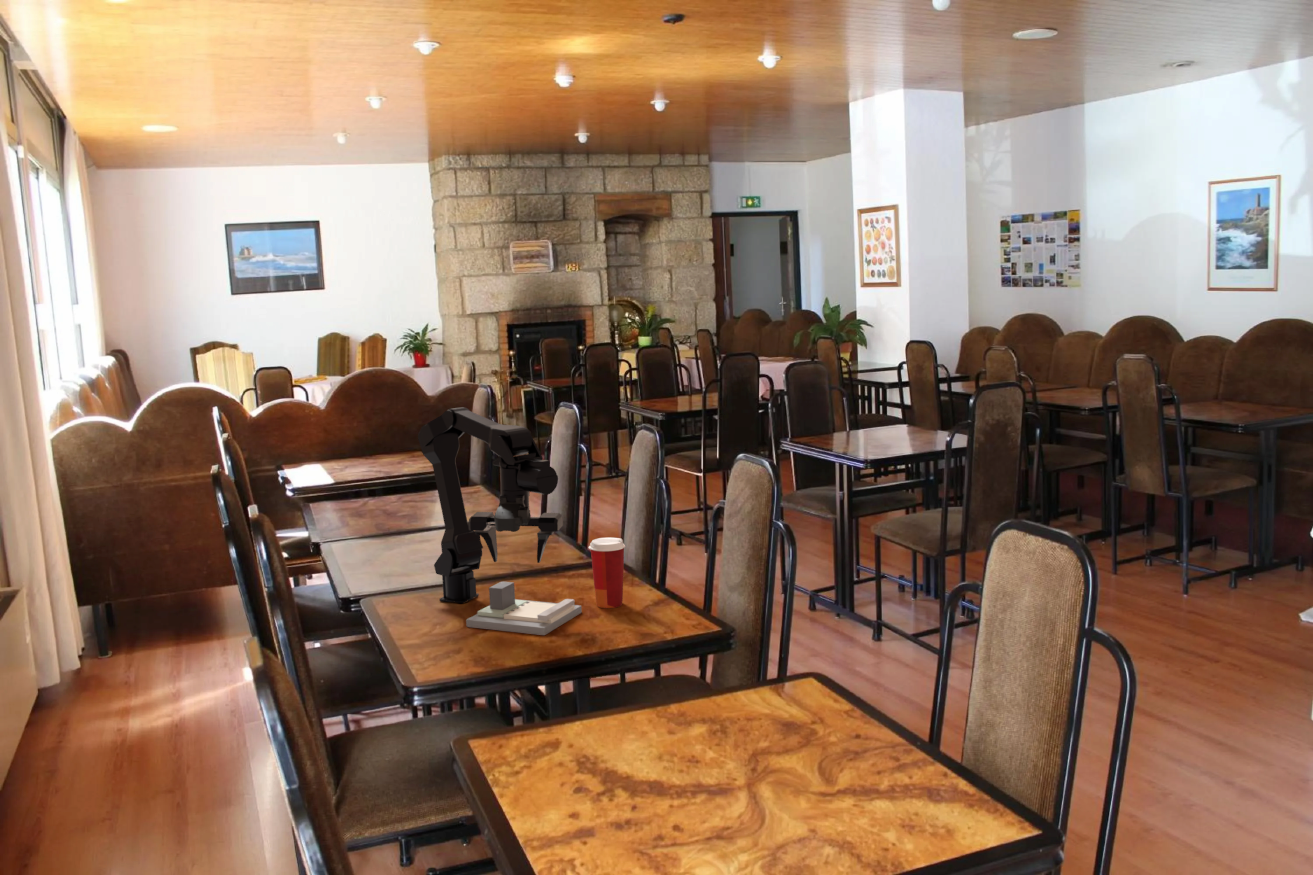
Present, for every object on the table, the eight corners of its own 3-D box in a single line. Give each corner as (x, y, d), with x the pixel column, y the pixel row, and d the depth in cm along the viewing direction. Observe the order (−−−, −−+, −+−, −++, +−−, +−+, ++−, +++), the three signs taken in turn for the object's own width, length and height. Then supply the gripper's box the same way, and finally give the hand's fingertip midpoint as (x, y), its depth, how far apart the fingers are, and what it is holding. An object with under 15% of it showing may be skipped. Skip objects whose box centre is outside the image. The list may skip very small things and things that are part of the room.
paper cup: (629, 599, 241) (627, 536, 239) (624, 609, 233) (622, 544, 231) (593, 599, 242) (591, 536, 240) (588, 609, 234) (585, 545, 232)
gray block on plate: (477, 615, 227) (476, 590, 226) (503, 601, 236) (501, 577, 235) (502, 617, 225) (501, 592, 224) (527, 604, 234) (526, 579, 233)
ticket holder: (466, 626, 225) (465, 610, 224) (507, 605, 239) (506, 590, 239) (544, 635, 218) (543, 618, 217) (581, 612, 232) (581, 597, 232)
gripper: (459, 495, 221) (462, 571, 224) (550, 497, 219) (552, 573, 221) (474, 485, 232) (477, 557, 234) (562, 486, 230) (564, 559, 232)
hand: (517, 562), depth 230 cm, fingers open, 9 cm apart
